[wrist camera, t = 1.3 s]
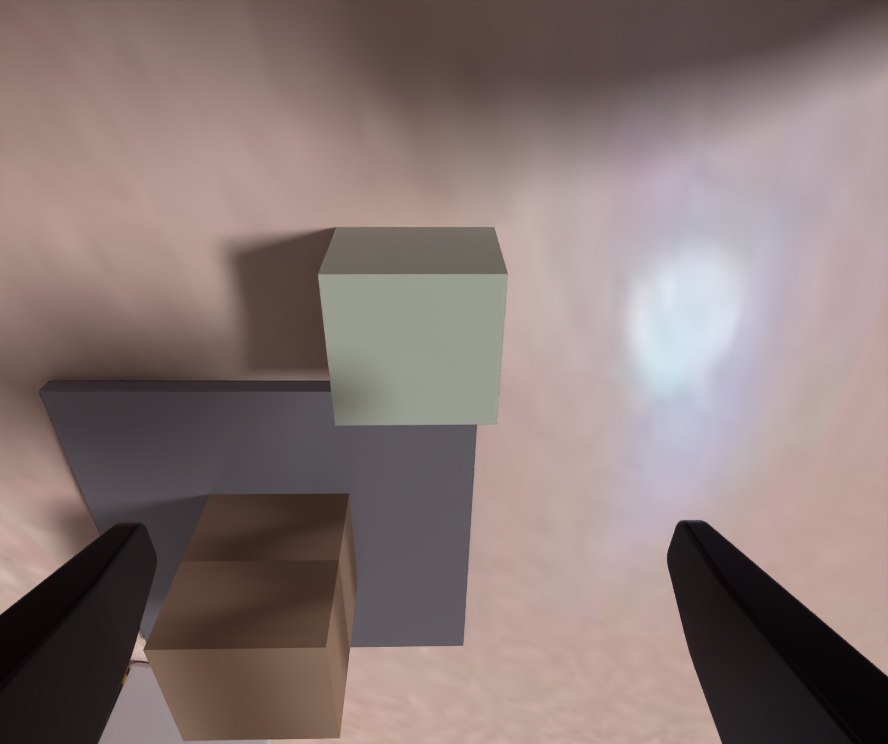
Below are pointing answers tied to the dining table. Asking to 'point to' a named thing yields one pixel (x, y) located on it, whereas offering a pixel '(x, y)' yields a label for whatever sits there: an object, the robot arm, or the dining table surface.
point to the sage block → (414, 324)
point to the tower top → (253, 650)
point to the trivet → (281, 484)
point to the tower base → (279, 533)
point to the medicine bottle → (146, 714)
